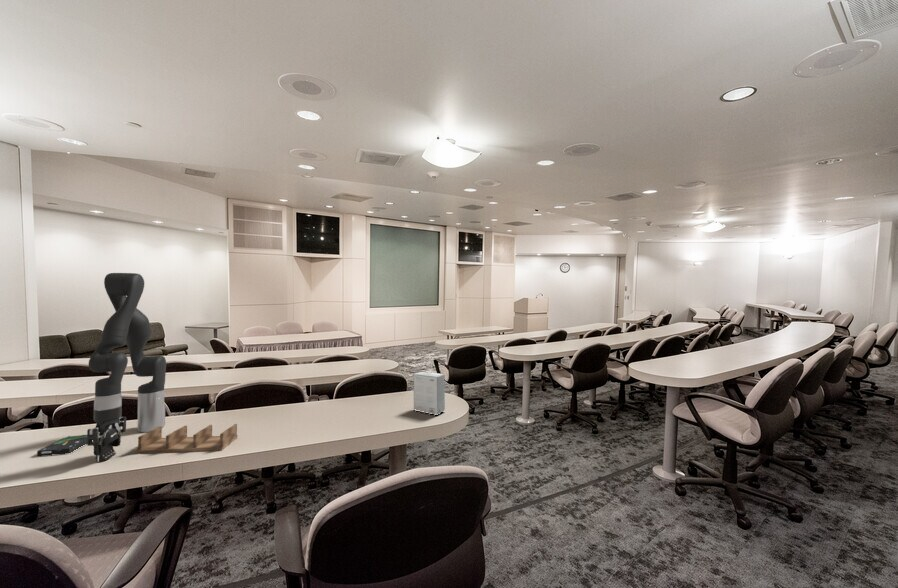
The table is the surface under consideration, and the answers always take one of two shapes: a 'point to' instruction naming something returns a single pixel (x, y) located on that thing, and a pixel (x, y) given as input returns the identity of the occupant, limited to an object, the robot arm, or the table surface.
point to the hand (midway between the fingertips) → (107, 450)
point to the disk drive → (64, 445)
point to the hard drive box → (429, 392)
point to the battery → (107, 445)
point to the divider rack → (185, 440)
